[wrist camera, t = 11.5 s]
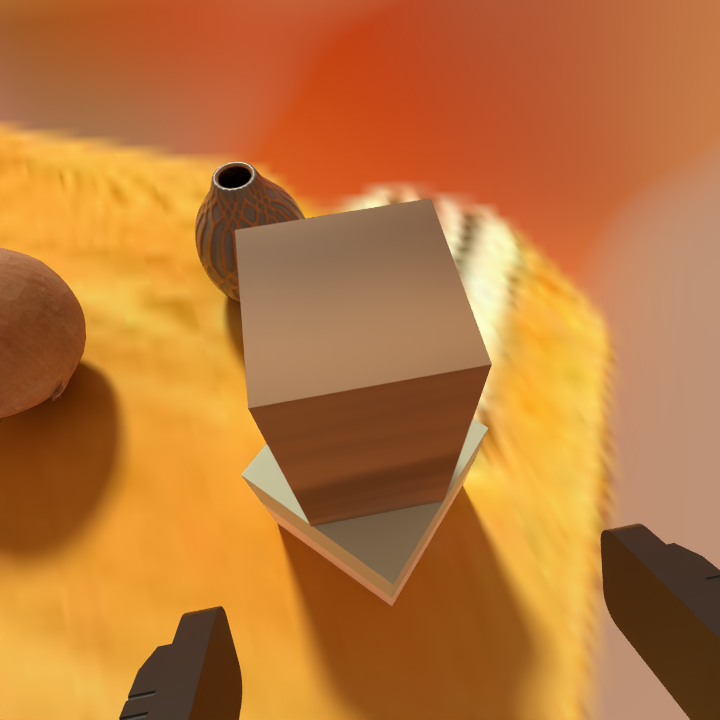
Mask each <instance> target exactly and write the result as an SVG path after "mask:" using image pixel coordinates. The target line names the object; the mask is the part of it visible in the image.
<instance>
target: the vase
mask: <svg viewBox="0 0 720 720" xmlns="http://www.w3.org/2000/svg"><path fill="white" fill-rule="evenodd" d="M300 219H305V217H304V215H303V213H302V211H301V210H300V208H299V206H298V205H297V203H296V202H295V201H294V199H293V198H292V197H291V196H290V195H289V194H288V193H287V192H286V191H285V190H284V189H282V188H281V187H280V186H278V185H276V184H275V183H273V182H271V181H270V180H268V179H266V178H264V177H262V176H261V175H260V174H259V173H258V172H257V170H256V169H255V168H254V167H253V166H251V165H250V164H248V163H245V162H231V163H227V164H225V165H223V166H221V167H219V168H218V169H217V170H216V171H215V172H214V174H213V176H212V182H211V188H210V190H209V192H208V194H207V195H206V197H205V199H204V201H203V203H202V205H201V207H200V209H199V212H198V215H197V219H196V226H195V240H196V247H197V252H198V256H199V258H200V261H201V263H202V265H203V267H204V269H205V271H206V273H207V275H208V276H209V278H210V279H211V281H212V282H213V283H214V284H215V285H216V286H217V287H218V288H219V289H220V290H221V291H222V292H223V293H224V294H225V295H227V296H228V297H230V298H232V299H233V300H235V301H237V302H240V291H239V277H238V264H237V251H236V237H235V230H238V229H245V228H251V227H257V226H263V225H269V224H276V223H282V222H288V221H294V220H300Z"/></svg>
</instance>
